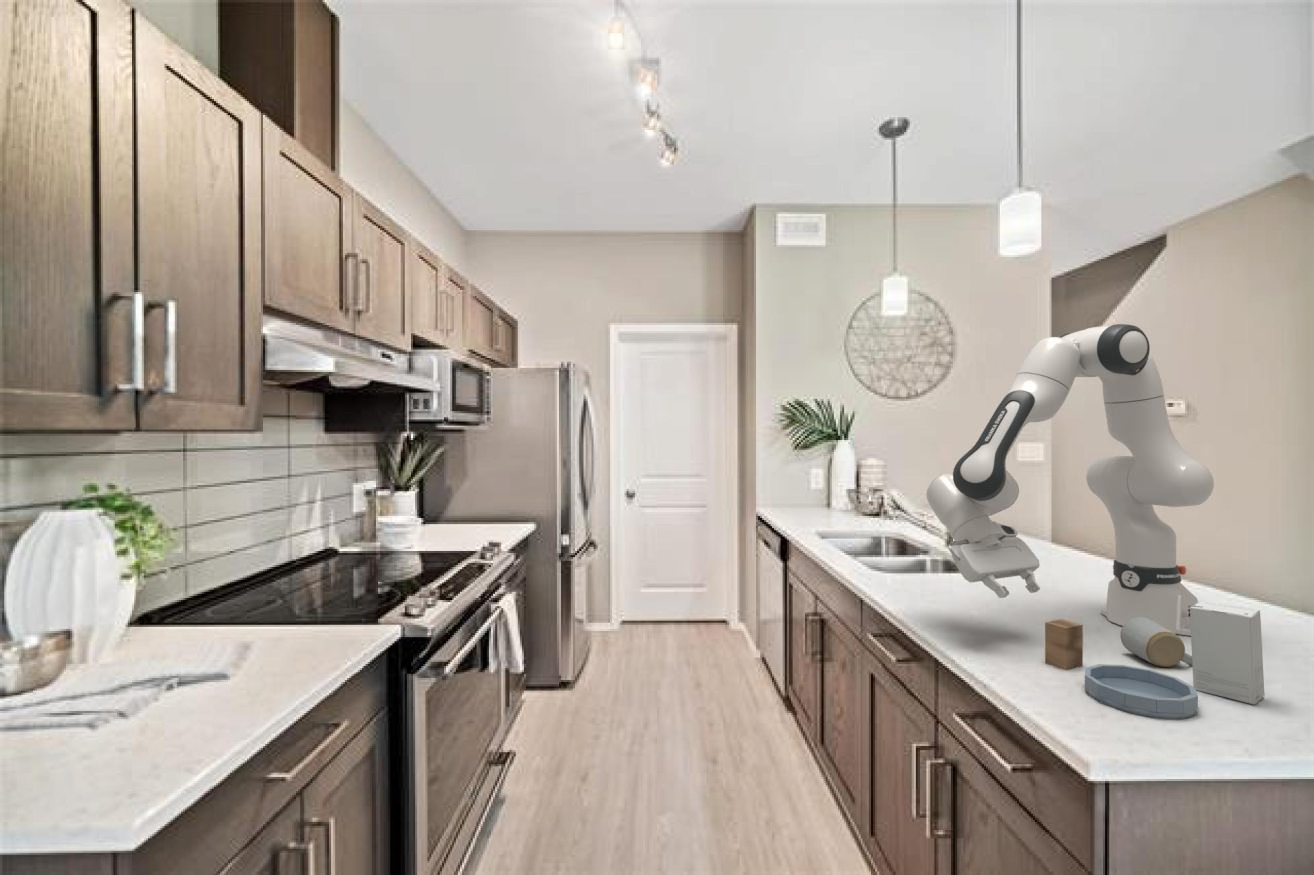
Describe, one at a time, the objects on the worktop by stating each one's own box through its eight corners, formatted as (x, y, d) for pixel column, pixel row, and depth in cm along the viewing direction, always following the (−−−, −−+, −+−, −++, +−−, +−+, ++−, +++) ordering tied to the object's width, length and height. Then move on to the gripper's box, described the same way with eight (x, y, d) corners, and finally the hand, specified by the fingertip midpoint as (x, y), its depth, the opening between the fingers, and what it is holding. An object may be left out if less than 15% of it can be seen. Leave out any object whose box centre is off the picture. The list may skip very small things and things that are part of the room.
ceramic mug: (1147, 668, 117) (1148, 628, 117) (1118, 653, 125) (1119, 615, 125) (1207, 671, 116) (1208, 630, 116) (1174, 655, 125) (1175, 617, 125)
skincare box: (1264, 697, 104) (1265, 610, 104) (1253, 706, 101) (1254, 616, 101) (1200, 681, 111) (1201, 599, 111) (1188, 689, 108) (1189, 604, 108)
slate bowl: (1117, 675, 114) (1117, 659, 114) (1216, 708, 101) (1216, 689, 100) (1065, 689, 108) (1065, 672, 108) (1163, 726, 94) (1163, 707, 94)
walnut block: (1061, 659, 122) (1061, 619, 122) (1082, 666, 119) (1082, 624, 119) (1045, 663, 120) (1045, 622, 120) (1065, 670, 117) (1065, 628, 117)
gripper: (953, 533, 130) (995, 590, 121) (1019, 527, 138) (1063, 580, 129) (936, 550, 134) (975, 607, 125) (1000, 543, 142) (1042, 596, 134)
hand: (1020, 593), depth 127 cm, fingers open, 8 cm apart
